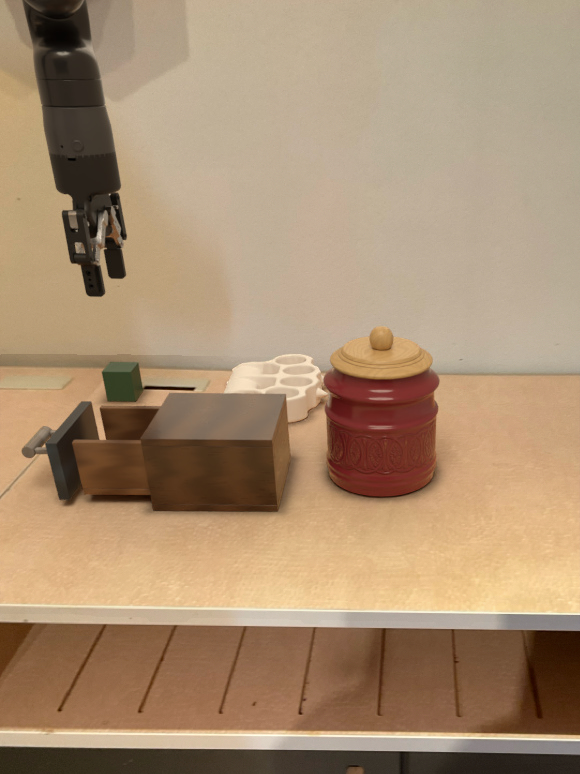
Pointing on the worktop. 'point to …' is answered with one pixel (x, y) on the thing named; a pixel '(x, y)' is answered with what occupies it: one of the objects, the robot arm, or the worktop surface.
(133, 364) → the block
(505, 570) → the worktop surface
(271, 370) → the white egg tray
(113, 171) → the robot arm
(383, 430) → the kitchen canister
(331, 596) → the worktop surface
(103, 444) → the drawer
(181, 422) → the cabinet
